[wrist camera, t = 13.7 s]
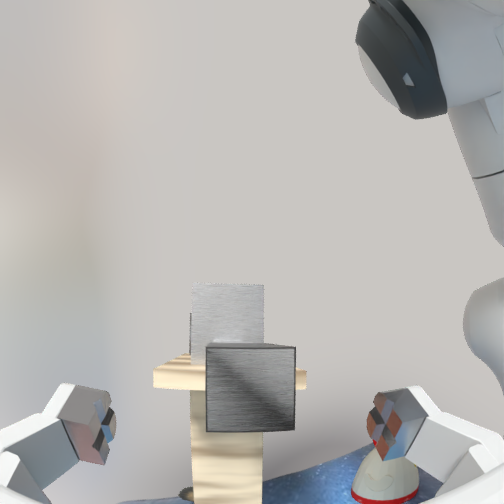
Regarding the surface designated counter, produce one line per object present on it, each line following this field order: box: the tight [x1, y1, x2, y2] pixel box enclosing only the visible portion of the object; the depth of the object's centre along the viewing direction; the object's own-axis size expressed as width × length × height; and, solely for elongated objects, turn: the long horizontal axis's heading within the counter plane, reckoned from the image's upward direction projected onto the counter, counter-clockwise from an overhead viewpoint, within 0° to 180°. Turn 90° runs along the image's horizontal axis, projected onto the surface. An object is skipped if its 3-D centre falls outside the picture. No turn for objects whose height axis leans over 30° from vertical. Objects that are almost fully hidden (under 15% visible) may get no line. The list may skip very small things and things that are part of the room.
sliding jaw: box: [191, 283, 296, 433], centre depth 22 cm, size 26×7×8 cm, turn 6°
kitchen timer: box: [351, 440, 419, 504], centre depth 45 cm, size 14×14×15 cm
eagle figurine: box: [178, 487, 194, 502], centre depth 40 cm, size 8×7×9 cm
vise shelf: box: [153, 313, 306, 504], centre depth 31 cm, size 24×14×37 cm, turn 6°
